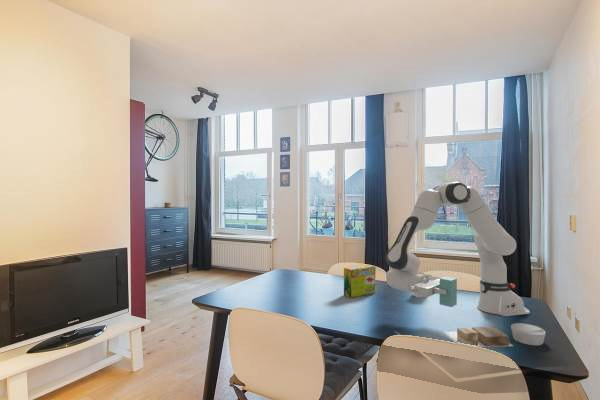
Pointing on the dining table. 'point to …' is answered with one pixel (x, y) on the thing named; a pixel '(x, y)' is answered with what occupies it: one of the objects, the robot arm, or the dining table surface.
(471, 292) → the dining table surface
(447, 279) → the teal block
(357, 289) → the fingerpaint box
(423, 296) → the jar
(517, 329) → the ramekin
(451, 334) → the blueprint board
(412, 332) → the dining table surface
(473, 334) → the oak cube
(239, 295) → the dining table surface
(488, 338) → the walnut base
